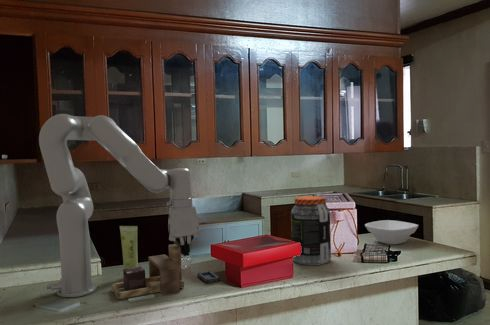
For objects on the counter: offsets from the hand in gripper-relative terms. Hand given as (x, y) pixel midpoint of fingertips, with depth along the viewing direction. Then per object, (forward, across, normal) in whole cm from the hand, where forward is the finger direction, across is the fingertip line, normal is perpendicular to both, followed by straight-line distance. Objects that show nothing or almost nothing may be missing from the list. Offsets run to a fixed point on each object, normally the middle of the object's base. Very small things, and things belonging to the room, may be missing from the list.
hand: (185, 255), depth 150 cm
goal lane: (+9, -18, 0) cm, 20 cm away
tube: (+9, -16, +16) cm, 25 cm away
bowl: (+14, +102, +4) cm, 103 cm away
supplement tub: (+12, +52, -1) cm, 54 cm away
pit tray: (+10, +8, 0) cm, 13 cm away
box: (+10, -18, +2) cm, 21 cm away
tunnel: (+10, -8, 0) cm, 13 cm away
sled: (+9, -14, 0) cm, 16 cm away
